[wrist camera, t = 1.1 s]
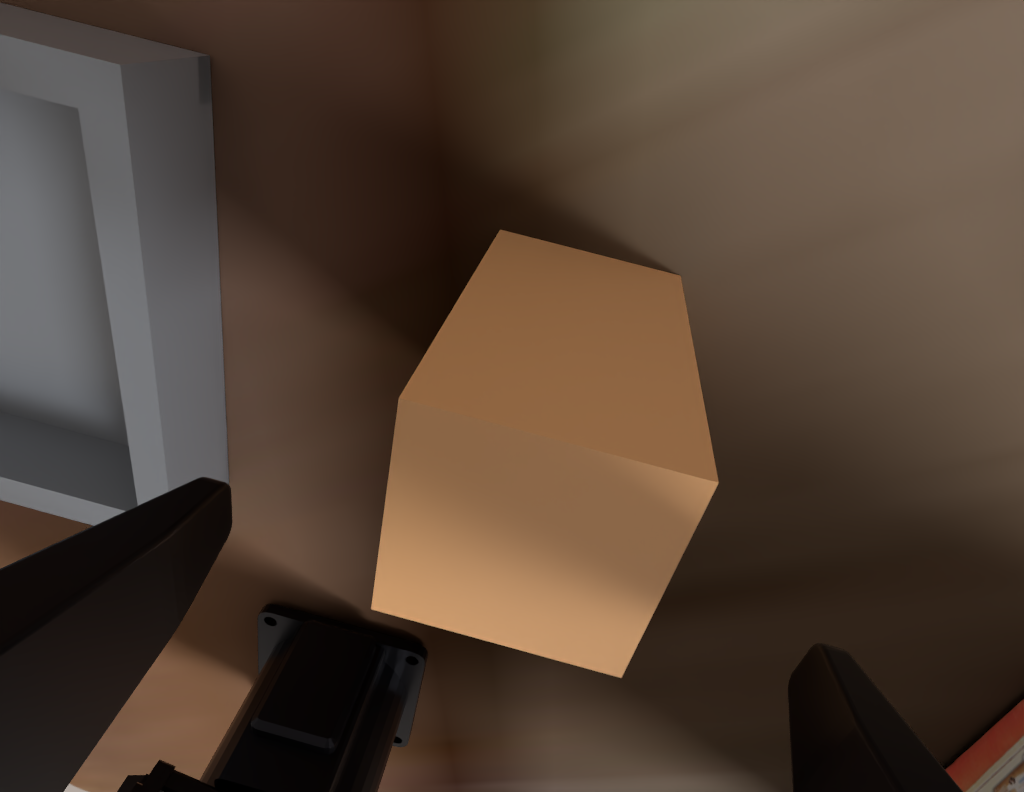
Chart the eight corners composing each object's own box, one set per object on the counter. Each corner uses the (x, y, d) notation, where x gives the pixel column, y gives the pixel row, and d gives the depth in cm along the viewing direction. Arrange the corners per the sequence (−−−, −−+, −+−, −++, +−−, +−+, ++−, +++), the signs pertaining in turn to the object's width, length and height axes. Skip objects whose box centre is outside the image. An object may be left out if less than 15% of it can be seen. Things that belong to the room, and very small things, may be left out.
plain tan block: (625, 424, 18) (621, 678, 11) (469, 383, 18) (371, 609, 11) (680, 275, 15) (718, 482, 9) (500, 229, 16) (399, 397, 9)
